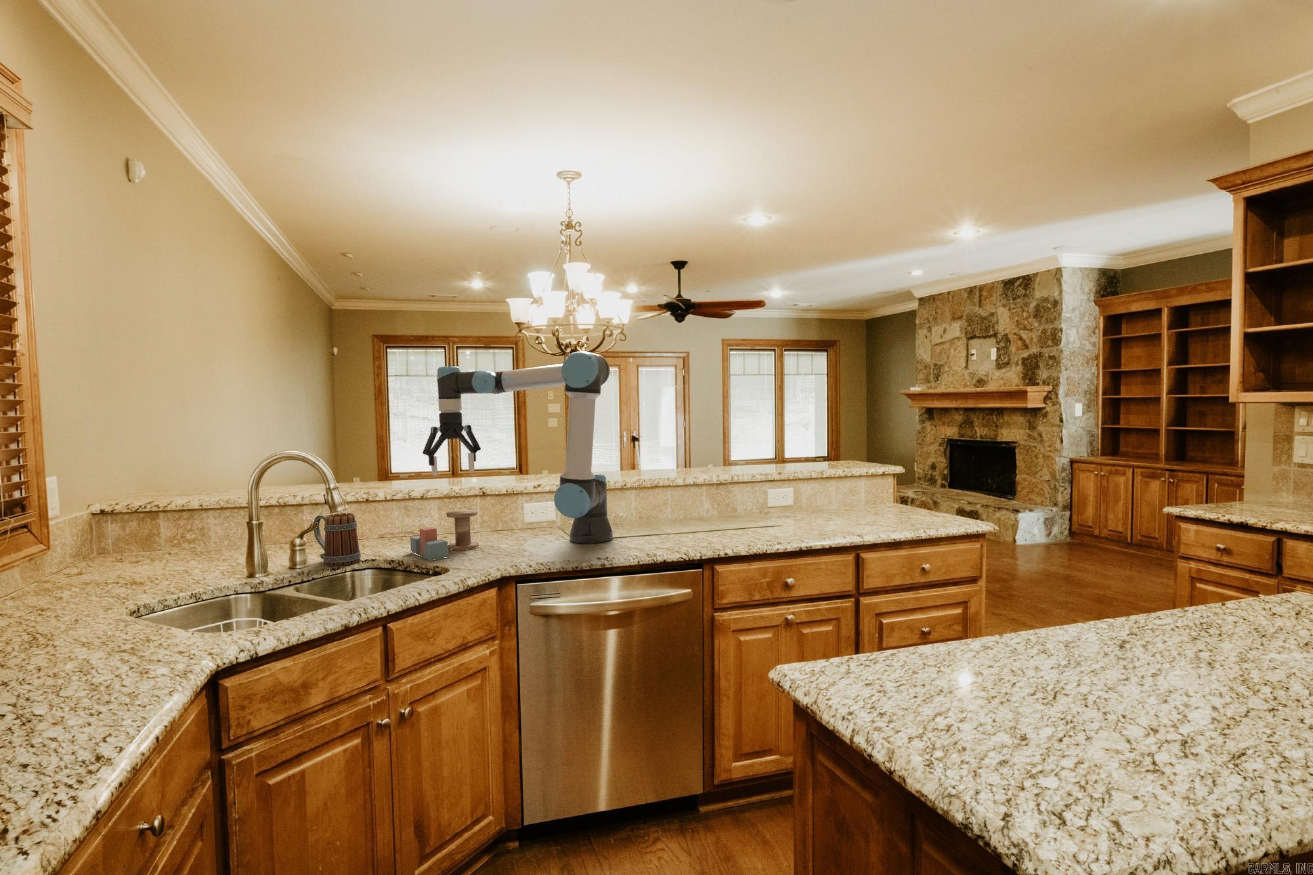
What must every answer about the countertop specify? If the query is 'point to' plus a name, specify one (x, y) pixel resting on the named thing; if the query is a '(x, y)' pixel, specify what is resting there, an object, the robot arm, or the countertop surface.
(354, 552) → the mug
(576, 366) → the robot arm
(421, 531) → the red rectangular block
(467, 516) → the bobbin
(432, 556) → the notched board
